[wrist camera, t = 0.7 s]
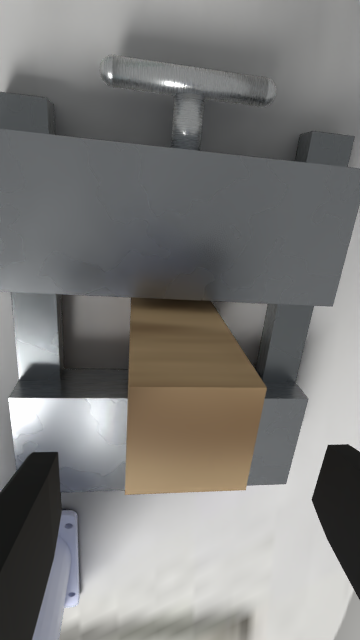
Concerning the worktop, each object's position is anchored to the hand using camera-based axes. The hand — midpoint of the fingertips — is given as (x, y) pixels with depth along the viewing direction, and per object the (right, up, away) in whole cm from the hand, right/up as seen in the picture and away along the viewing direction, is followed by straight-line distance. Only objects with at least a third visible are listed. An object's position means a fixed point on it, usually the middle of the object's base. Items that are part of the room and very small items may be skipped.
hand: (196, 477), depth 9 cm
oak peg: (-1, +4, +10) cm, 10 cm away
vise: (-1, +4, +10) cm, 10 cm away
